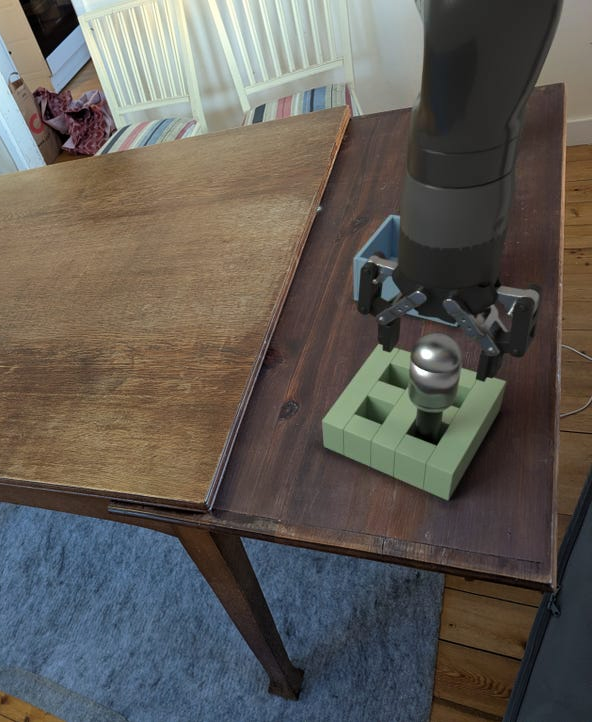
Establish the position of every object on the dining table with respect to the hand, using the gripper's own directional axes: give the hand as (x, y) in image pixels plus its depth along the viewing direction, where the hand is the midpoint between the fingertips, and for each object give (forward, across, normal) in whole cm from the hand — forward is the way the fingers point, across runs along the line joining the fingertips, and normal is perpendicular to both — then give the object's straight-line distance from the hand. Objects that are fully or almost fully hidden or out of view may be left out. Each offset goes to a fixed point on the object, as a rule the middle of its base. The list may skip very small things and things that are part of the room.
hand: (434, 360), depth 58 cm
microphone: (+16, 0, 0) cm, 16 cm away
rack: (+16, +3, -3) cm, 16 cm away
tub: (+16, +12, -27) cm, 33 cm away
